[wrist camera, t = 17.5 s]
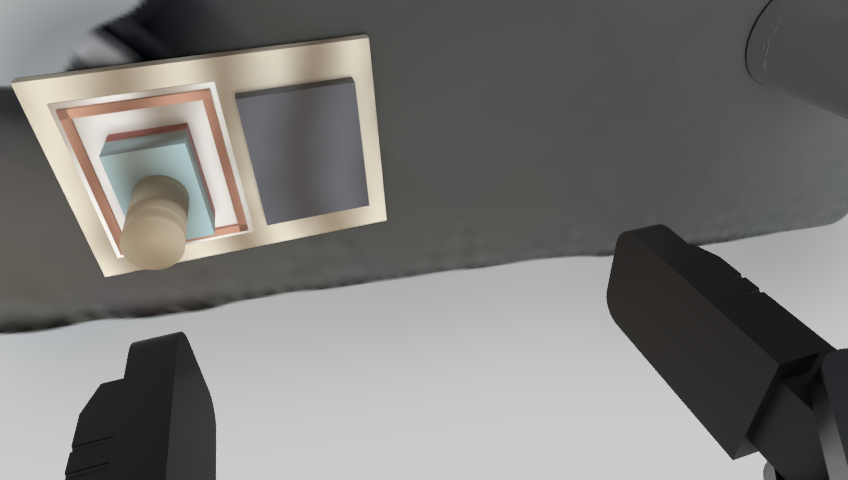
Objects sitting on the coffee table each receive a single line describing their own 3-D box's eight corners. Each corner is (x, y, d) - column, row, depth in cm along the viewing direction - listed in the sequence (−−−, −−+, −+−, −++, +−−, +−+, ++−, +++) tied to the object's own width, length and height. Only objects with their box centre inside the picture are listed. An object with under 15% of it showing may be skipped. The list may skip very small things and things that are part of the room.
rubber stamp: (187, 122, 37) (180, 184, 30) (215, 210, 41) (214, 282, 34) (107, 134, 36) (81, 202, 29) (144, 223, 40) (128, 301, 33)
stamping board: (365, 34, 39) (372, 42, 37) (383, 214, 47) (390, 227, 45) (15, 78, 34) (4, 89, 32) (107, 269, 42) (102, 286, 41)
